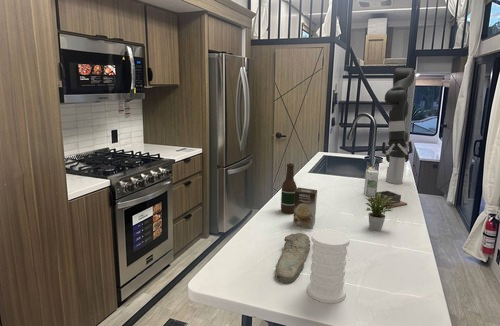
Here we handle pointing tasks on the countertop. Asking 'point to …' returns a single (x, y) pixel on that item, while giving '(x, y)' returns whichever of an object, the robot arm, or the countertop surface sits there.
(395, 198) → the collar block
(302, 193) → the coffee box
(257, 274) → the countertop surface
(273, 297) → the countertop surface
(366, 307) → the countertop surface
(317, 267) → the decorative container
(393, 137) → the robot arm
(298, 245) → the elongated rock
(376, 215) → the house plant
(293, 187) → the beer bottle
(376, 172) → the syrup box
